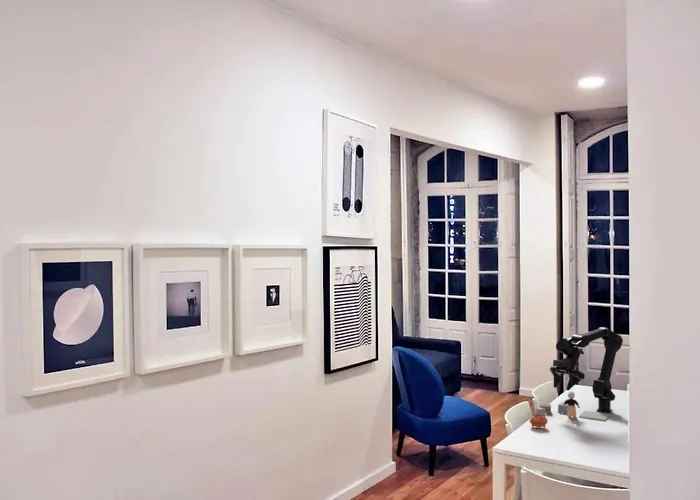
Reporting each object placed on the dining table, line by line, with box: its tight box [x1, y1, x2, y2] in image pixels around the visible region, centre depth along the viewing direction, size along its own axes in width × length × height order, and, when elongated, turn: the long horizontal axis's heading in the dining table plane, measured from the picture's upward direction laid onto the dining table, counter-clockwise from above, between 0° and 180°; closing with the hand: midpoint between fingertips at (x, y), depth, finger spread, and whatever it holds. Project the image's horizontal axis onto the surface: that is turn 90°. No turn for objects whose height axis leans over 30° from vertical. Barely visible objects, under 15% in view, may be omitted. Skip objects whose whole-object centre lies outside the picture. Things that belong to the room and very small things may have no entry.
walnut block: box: [539, 403, 552, 415], centre depth 310 cm, size 5×5×4 cm
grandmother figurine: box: [563, 391, 581, 420], centre depth 300 cm, size 8×4×13 cm, turn 84°
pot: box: [529, 413, 548, 431], centre depth 283 cm, size 8×8×7 cm
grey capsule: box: [535, 407, 546, 418], centre depth 302 cm, size 4×4×4 cm
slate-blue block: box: [557, 401, 568, 414], centre depth 312 cm, size 6×4×4 cm, turn 147°
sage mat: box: [578, 410, 611, 422], centre depth 303 cm, size 12×12×1 cm
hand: (560, 388), depth 298 cm, fingers open, 9 cm apart
